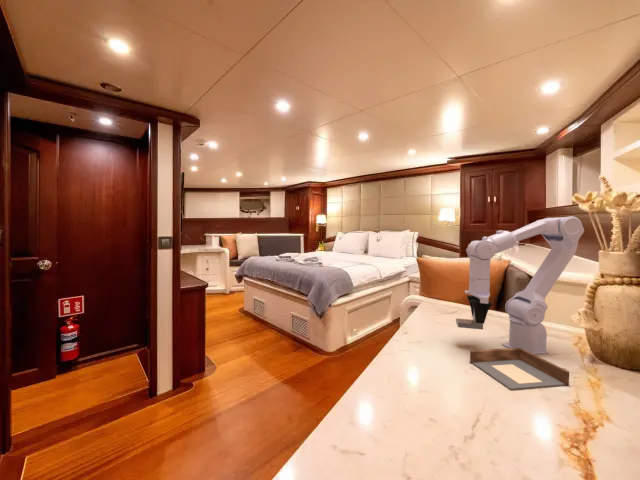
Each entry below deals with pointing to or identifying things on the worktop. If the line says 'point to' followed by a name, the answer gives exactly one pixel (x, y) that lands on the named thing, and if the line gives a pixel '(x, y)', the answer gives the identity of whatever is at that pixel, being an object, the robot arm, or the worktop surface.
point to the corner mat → (517, 374)
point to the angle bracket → (469, 323)
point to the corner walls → (523, 356)
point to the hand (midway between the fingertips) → (478, 320)
